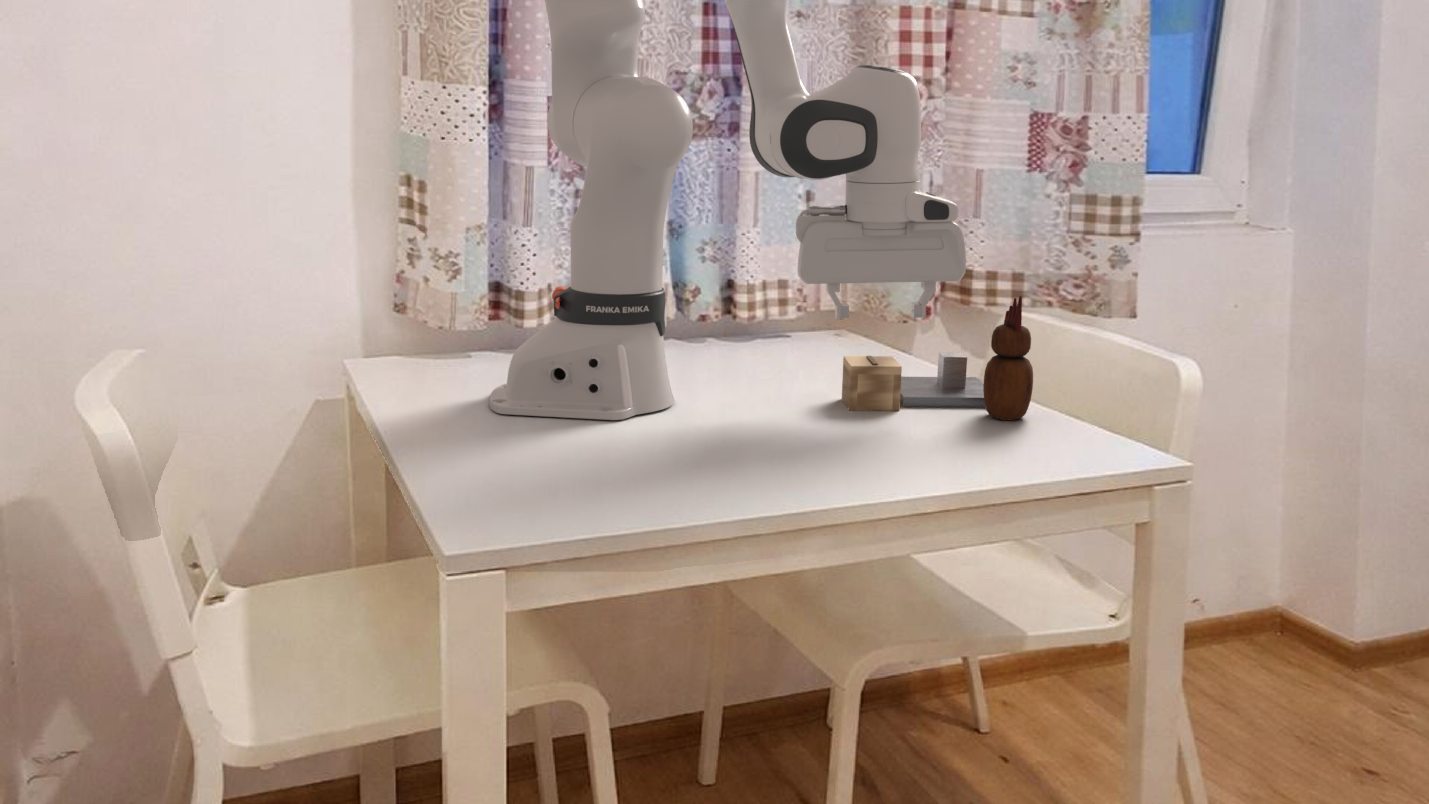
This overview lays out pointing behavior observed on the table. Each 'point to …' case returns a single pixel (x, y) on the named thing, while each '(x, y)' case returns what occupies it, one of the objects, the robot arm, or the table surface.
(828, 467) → the table surface
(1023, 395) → the wooden figurine
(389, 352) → the table surface
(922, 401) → the plate
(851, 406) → the wooden coin bank
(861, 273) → the robot arm
